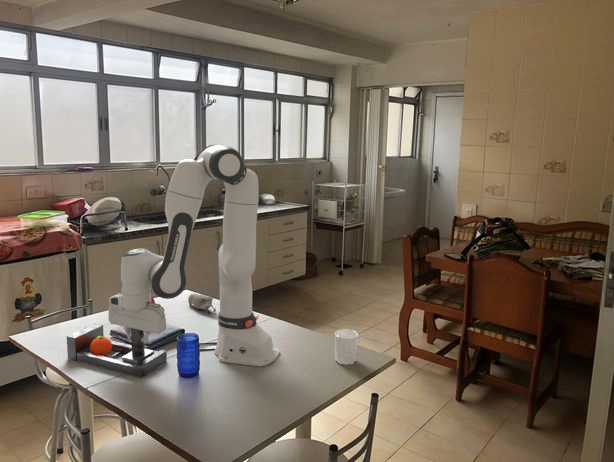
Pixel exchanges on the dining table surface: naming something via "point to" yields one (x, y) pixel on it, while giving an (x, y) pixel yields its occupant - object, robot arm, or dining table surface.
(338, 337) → the white cup
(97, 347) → the clementine
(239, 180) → the robot arm
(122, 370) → the press
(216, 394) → the dining table surface
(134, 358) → the ram
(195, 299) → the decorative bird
